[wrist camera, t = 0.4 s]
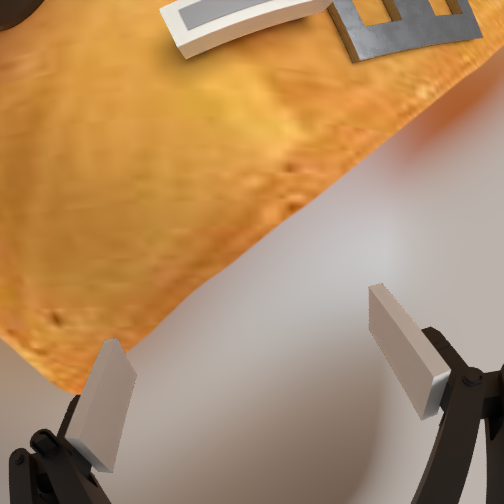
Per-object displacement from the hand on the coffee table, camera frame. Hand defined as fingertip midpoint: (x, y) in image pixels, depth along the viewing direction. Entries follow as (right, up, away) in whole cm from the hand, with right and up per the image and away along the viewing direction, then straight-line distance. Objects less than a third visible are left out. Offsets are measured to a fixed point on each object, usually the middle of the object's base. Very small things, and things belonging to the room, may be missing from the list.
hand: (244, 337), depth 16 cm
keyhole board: (+19, +40, +13) cm, 47 cm away
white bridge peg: (0, +31, +15) cm, 34 cm away
